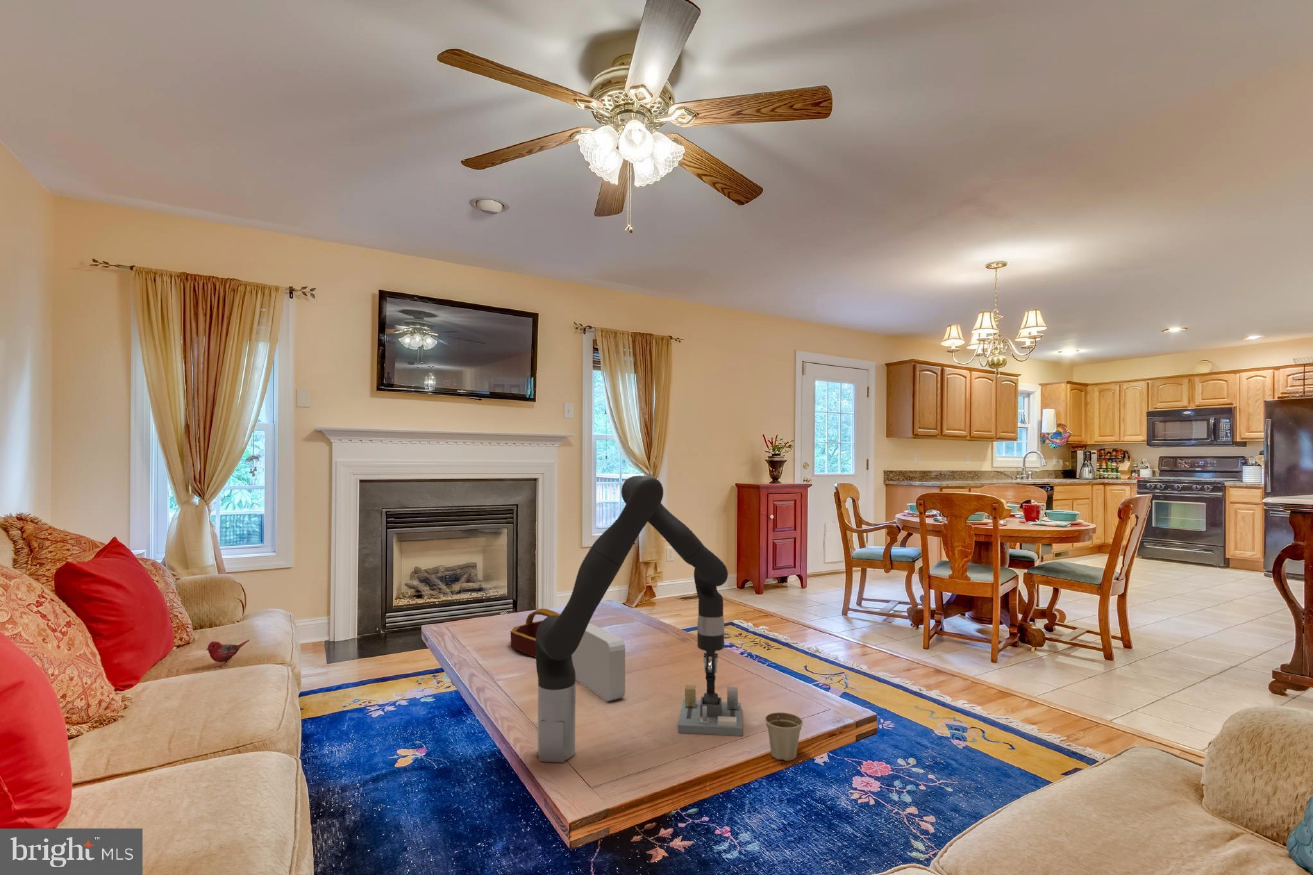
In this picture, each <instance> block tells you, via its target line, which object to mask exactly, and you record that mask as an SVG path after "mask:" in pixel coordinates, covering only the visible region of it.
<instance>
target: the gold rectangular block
mask: <svg viewBox="0 0 1313 875" xmlns="http://www.w3.org/2000/svg"><path fill="white" fill-rule="evenodd" d="M684 700H685V707H696V700H697V685H696V684H695V685H694V684H693V685H692V684H685V687H684Z"/></svg>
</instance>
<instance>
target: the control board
mask: <svg viewBox="0 0 1313 875" xmlns="http://www.w3.org/2000/svg"><path fill="white" fill-rule="evenodd" d="M742 714H743V711H742V702H739V701H738V709H727V701H722V697H721V696H720V697H719V696H718V705H711V704H704V696H700V700H697V699H696V707H685V699H682V703H681V708H680V713H679V717H678V718H679V719H678V724H677V732H678V733H680V734H697V735H698V734H699V735H716V736H718V735H719V736H734V737H743V717H742Z"/></svg>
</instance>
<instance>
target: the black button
mask: <svg viewBox="0 0 1313 875" xmlns="http://www.w3.org/2000/svg"><path fill="white" fill-rule="evenodd" d="M703 697H704V704H711V705H718V697H719V693H717V692H715V693H714V694H707V692H704V693H703Z"/></svg>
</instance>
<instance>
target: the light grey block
mask: <svg viewBox="0 0 1313 875" xmlns="http://www.w3.org/2000/svg"><path fill="white" fill-rule="evenodd" d="M726 688H727V689H726V694H727V697H726V700H727V701H726V702H727V709H738V702H739V690H738V689H739V687H738V686H737V687H736V686H727V687H726Z"/></svg>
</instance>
